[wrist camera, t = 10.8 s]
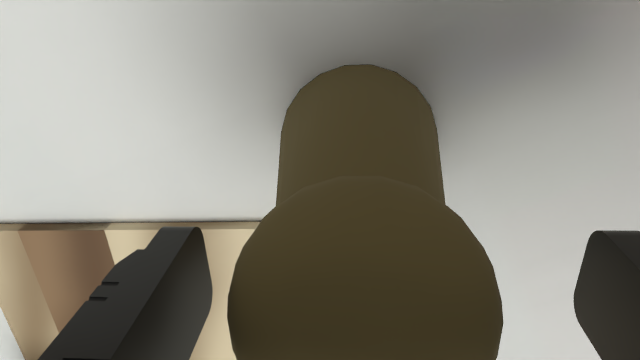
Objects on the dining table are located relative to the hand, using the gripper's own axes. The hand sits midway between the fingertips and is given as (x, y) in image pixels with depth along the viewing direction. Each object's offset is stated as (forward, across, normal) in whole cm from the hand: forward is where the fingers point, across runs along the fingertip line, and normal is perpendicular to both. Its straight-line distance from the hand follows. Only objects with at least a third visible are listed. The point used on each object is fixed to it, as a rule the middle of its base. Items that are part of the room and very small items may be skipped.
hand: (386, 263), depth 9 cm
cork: (+8, +1, 0) cm, 9 cm away
